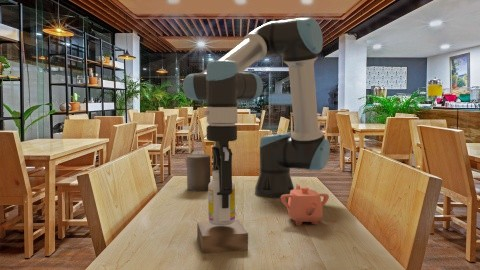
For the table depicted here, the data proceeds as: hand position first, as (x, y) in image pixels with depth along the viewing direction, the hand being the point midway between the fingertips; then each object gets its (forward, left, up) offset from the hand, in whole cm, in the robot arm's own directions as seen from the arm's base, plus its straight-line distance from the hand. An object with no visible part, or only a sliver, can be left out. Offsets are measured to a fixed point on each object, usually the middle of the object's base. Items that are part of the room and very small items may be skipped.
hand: (221, 216), depth 99 cm
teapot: (-27, -13, -7) cm, 31 cm away
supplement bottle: (0, 0, -2) cm, 2 cm away
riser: (0, 0, -7) cm, 7 cm away
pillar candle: (-1, -63, -7) cm, 64 cm away
